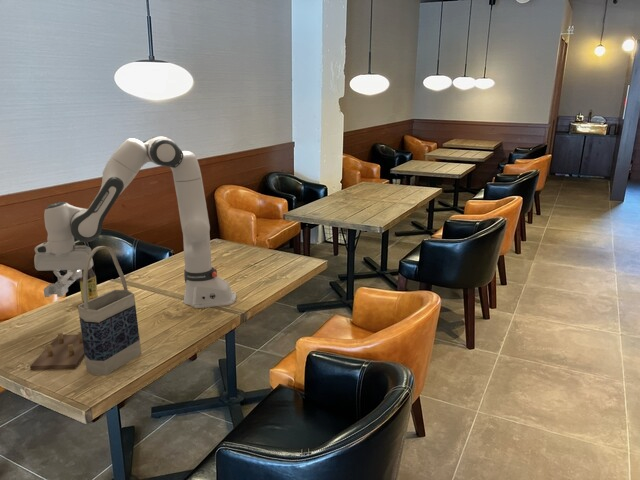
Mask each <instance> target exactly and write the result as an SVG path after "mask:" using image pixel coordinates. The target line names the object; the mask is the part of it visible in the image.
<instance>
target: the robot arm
mask: <svg viewBox="0 0 640 480" xmlns="http://www.w3.org/2000/svg"><path fill="white" fill-rule="evenodd" d="M147 163H153V164H155V165H157V166H161V167H167V168H170V170H171V172H172V177H173V183H174V189H175V194H176V200H177V206H178V213H179V221H180V226H181V232H182V239H183V241H182V242H183V257H184V260H183V261H184V270H183V275H184V276H183V278H184V283H185V289H184V297H183V303H184V304H185V305H188V306H191V307H193V308H195V309H204V307H205V308H212V307H222V306H230V305H231V306H232V305H233V304H235V302H236V300H237V297H238V296H237V293H236V292H235V291H234V290H232V289H231V285H230V283H229V282H228V281H227V280H225V279H223V278H221V277H220V276H218V271H217V268H216V267H215V268H214V267H213V265H212V251H211V249H212V248H211V237H210V235H211V234H210V231H211V225H210V219H209V213H208V208H207V201H206V195H205V189H204V182H203V177H202V171H201V168H200V164H199V161H198V159H197V156H196V154H195V153H194V152H192V151H189V150H181V149H180V147H179V146H178V144H177V143H176V142H175V141H174V140H173V139H170V138H169V137H166V136H153V137H151V138H148V139H146V140H144V141H141V140H140V139H137V138H134V137H133V138H132V137H130V138H127V139H126V140H125V141H123V142H122V143H121V144H120V145H119V146H118V147H117V148H116V150H115V151H114V152H113V153H112V155H111V156H110V157H109V159H108V161H107V163H106V165H105V167H104V169H103V171H102V176H101V177H102V181H101V186H100V189H99V191H98V193H97V194H96V196H95V198H94V199H93V201H92V202H91V204H90V205H89V207H88V208H84V207H78V206H74V205H72V204H70V203H68V202H65V201H59V202H54V203H51V204H49V205H48V206H46V208H45V209H44V216H43V217H44V226H45V230H46V232H47V239H46V241H44V242H43V243H40V244H38V245H36V246H35V247H34V252H35V255H34V258H33V260H34V261H33V262H34V268H35V269H36V271H38V272H39V271H46V272H47V271H52V272H53V274H54V275H55V277H57V281H58V280H60V279H61V278H62V277H63V276H64V275H61V272H60V271H67V270H71V272H73V274H72V275H71V276H69V280H70V281H74V280H75V274H76V272H77V270H84V266H85V262H86V259H87V257H88V255H89V254H90V252H91V251H92V248H91V247H89V246H87V245H85V244H84V245H82V244H81V245H78V244H77V245H76V244H75V242H76V241H75V240H78V241H79V242H83V243H90V242H93V241H96V240H97V239H98V238H99V237H100V236H101V233H102V231H103V230H102V229H103V224H104V221H105V218H106V216H107V215H108V213H109V212H110V210H111V209H112V207H113V205H114V204H115V202H116V201H117V199H118V198H119V197H120V195H121V194H122V193H123V192H124V191H125V190H126V188H127V187H128V186H129V185H130V184H131V182H133V180H134V179H135V177H136V176H137V174H138V173H139V172H140V170H141V169H142V167H143V166H145V164H147ZM91 267H92V268H93V267H94V260H93V257H92V258H91V261H90V264H89V268H88V270H89V269H90V268H91ZM75 281H76V280H75ZM75 281H74V282H75Z"/></svg>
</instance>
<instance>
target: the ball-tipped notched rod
mask: <svg viewBox="0 0 640 480" xmlns="http://www.w3.org/2000/svg"><path fill="white" fill-rule="evenodd" d="M66 272H67V273H65V274H64V275H63V277H62V278H61V279H60V280H58V279H57V281H56V282H55V283H49V284H48V285H47V286H46V287H44V288H43V295H44V298H50V297H52V296H53V295H56V296H57V298H60V297H61V298H62V297H64V296H65V294H67V293H68V292H69V287H70V286H71V285H72V284H74V283H75V281H77V280H80V278H82V277H83V276H82V270H77V272H76V274H75V280H74V281H70V280H69V276H71V275H72V274H73V272H71V270H66Z"/></svg>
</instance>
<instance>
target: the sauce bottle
mask: <svg viewBox="0 0 640 480" xmlns="http://www.w3.org/2000/svg"><path fill="white" fill-rule="evenodd" d="M83 272H84V270H82V276H83ZM97 284H98V283H97V276H96V273H95V271H94V270H93V266H92V267H91V268H90V269H89V270H88V276H87V292H88V301H90V300H92V299H94V298H96V297H99V296H98V285H97ZM79 286H80V296H81V302H82V304H83V303H84V298H83V277H82V278H79Z"/></svg>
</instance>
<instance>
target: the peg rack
mask: <svg viewBox="0 0 640 480" xmlns="http://www.w3.org/2000/svg"><path fill="white" fill-rule="evenodd" d="M83 359H85V356H84V348H83V341H82V333H81V331H80V332H78V333H77V334H75V333H74V334H73V333H72V334H64V333H63V332H59V333H58V332H57V336H56V337H55V338H54V339H53V340H52V341H51V342H50V343H49V344H48V345H46V348H45V349H44V350H43V351H42V352H41V354H40V355H38V357H37V358H36V359H35V360H34V361H33V362H32V363H31V365H29V366H30V371H38V370H39V371H42V370H43V371H45V370H65V369H66V370H69V369H70V370H71V369H72V370H73V369H77V368H78V367H79V365H80V363H82V362H83Z"/></svg>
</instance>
